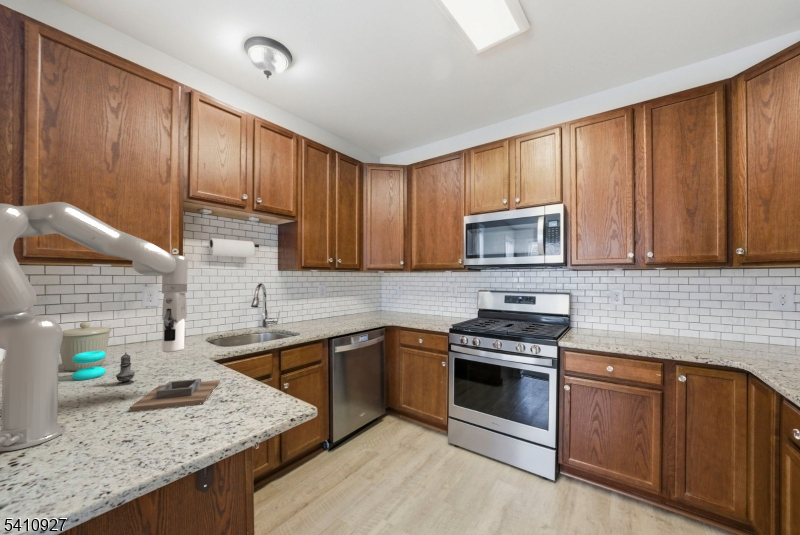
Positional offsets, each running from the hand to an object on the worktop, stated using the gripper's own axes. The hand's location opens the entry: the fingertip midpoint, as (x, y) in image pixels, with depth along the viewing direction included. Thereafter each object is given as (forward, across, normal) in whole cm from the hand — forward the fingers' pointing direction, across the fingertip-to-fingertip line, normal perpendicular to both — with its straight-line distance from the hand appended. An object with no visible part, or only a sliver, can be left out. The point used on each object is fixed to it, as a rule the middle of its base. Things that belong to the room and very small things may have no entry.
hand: (173, 338), depth 115 cm
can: (+5, 0, 0) cm, 5 cm away
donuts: (+19, +32, +40) cm, 55 cm away
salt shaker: (+19, +17, +21) cm, 34 cm away
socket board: (+19, -6, -4) cm, 20 cm away
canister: (+19, +49, +50) cm, 73 cm away
